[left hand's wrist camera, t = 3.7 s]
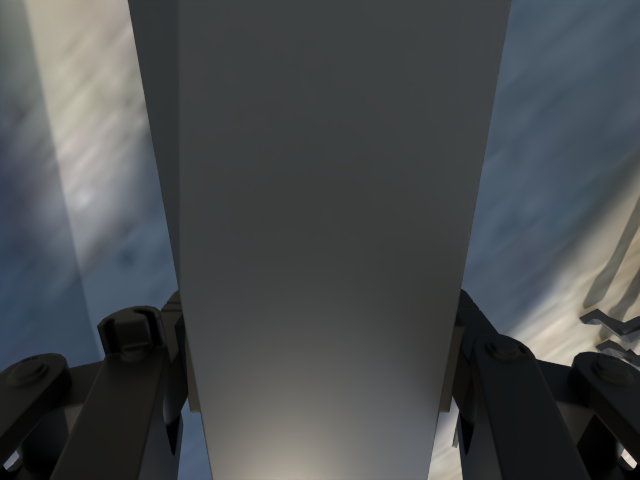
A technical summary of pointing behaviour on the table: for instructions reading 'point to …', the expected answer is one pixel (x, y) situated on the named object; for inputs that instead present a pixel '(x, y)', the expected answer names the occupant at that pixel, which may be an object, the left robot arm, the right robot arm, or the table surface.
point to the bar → (319, 217)
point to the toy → (624, 331)
